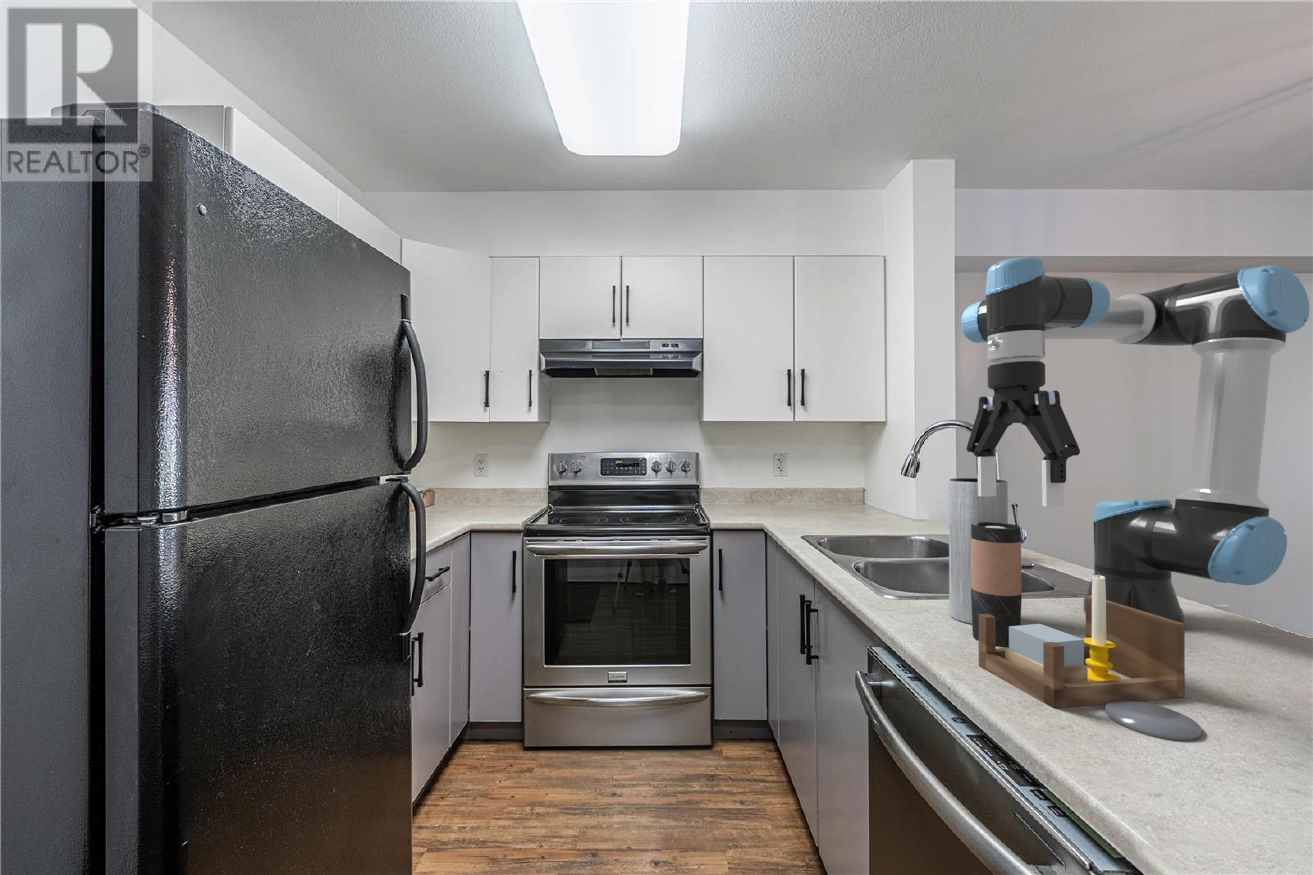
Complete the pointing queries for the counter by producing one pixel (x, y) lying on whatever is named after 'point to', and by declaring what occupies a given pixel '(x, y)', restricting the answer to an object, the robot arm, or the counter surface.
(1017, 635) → the offcut upper
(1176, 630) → the frame
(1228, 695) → the counter surface
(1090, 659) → the candle
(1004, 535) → the travel mug
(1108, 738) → the counter surface
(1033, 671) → the offcut lower
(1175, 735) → the disc
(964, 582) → the vase
